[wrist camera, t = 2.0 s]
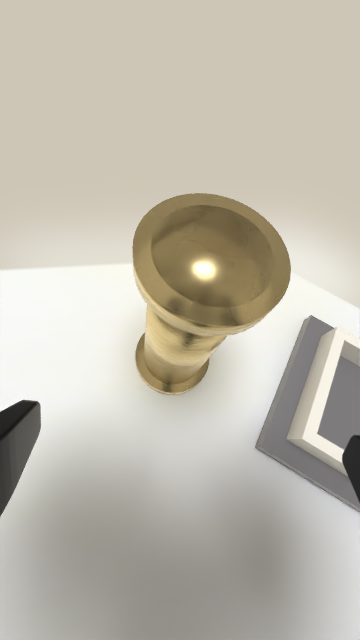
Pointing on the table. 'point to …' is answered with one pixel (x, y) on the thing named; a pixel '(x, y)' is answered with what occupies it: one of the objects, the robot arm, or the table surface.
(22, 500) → the table surface
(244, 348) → the table surface
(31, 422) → the robot arm
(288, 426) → the socket plate
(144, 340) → the brass fitting
